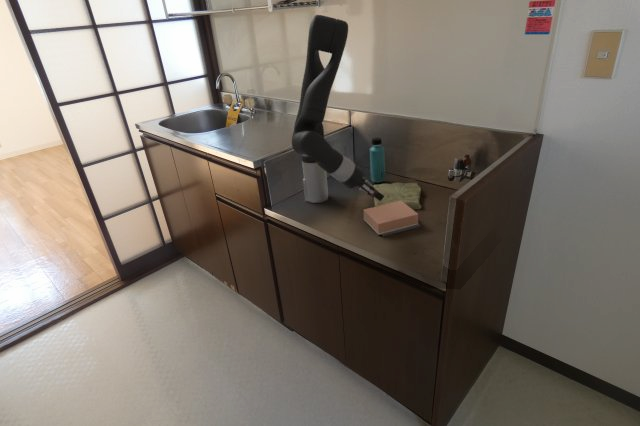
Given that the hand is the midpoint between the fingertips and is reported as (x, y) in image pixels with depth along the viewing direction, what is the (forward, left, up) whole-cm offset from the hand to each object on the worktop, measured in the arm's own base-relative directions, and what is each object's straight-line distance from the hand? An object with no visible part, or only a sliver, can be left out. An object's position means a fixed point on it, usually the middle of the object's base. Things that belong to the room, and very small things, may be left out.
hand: (381, 198), depth 130 cm
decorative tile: (+5, +22, -12) cm, 25 cm away
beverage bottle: (-4, +38, -11) cm, 40 cm away
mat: (+3, +2, -11) cm, 12 cm away
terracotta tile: (-4, -2, -8) cm, 9 cm away
